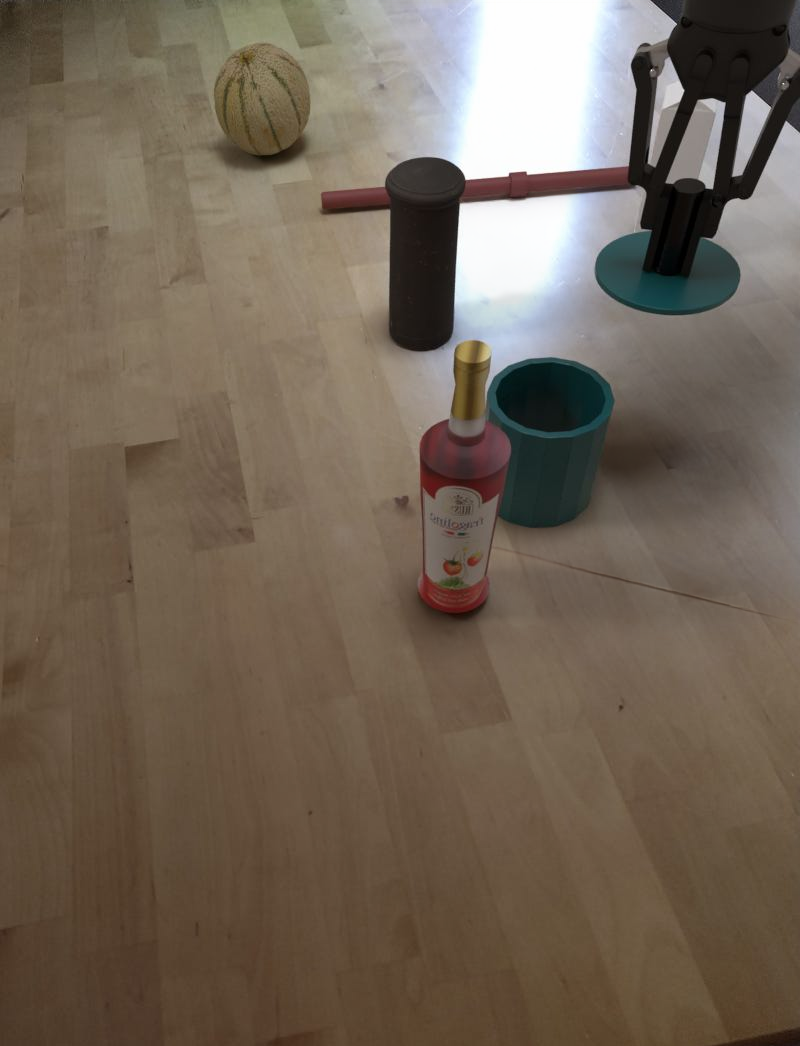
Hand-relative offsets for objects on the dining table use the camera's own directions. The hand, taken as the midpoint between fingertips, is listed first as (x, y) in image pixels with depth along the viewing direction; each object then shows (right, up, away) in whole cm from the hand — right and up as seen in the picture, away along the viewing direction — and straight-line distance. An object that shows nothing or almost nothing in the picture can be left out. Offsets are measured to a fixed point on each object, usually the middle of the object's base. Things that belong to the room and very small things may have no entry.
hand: (667, 264), depth 80 cm
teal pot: (-9, -18, +14) cm, 24 cm away
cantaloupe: (-40, +44, +62) cm, 86 cm away
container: (-19, +5, +32) cm, 37 cm away
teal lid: (0, -1, +1) cm, 1 cm away
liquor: (-18, -29, +7) cm, 35 cm away
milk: (+13, +18, +38) cm, 44 cm away
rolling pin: (-9, +30, +49) cm, 58 cm away
